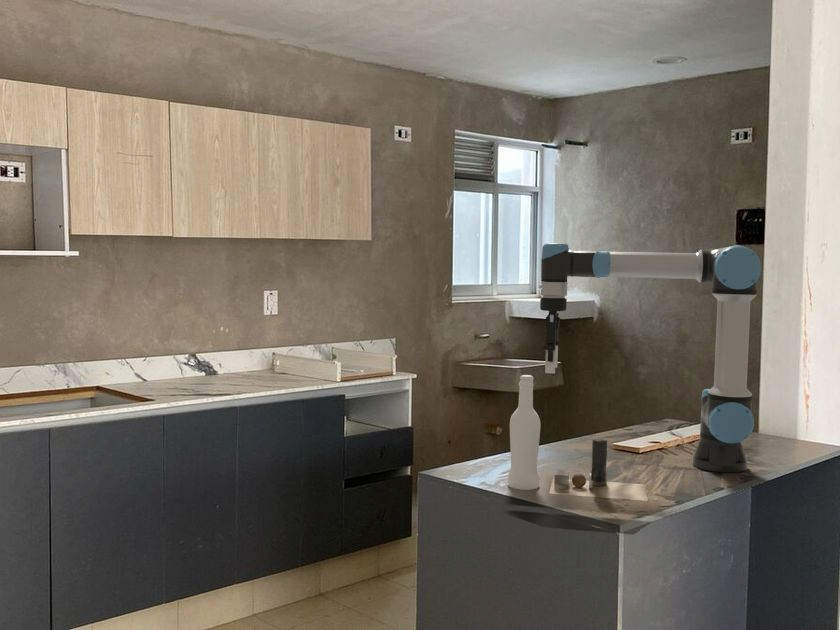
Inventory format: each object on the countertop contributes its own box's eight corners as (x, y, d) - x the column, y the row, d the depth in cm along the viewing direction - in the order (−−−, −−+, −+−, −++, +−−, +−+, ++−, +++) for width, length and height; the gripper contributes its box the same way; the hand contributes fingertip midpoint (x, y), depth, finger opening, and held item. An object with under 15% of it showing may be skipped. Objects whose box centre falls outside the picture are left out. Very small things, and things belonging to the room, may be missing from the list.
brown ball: (585, 486, 222) (586, 472, 222) (585, 489, 219) (586, 475, 218) (571, 485, 223) (572, 471, 223) (571, 488, 219) (571, 474, 219)
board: (644, 488, 225) (645, 470, 225) (647, 505, 210) (648, 486, 209) (552, 482, 230) (553, 464, 230) (549, 498, 215) (549, 479, 214)
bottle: (505, 485, 226) (508, 373, 224) (535, 485, 226) (538, 373, 224) (510, 494, 217) (514, 377, 216) (542, 494, 218) (545, 377, 216)
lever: (605, 481, 226) (606, 431, 225) (605, 496, 211) (607, 442, 210) (589, 480, 227) (591, 430, 226) (588, 495, 212) (590, 441, 211)
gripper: (543, 295, 259) (541, 364, 260) (537, 298, 234) (535, 375, 236) (568, 295, 257) (566, 365, 258) (565, 299, 233) (562, 376, 234)
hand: (551, 370), depth 247 cm, fingers open, 13 cm apart
